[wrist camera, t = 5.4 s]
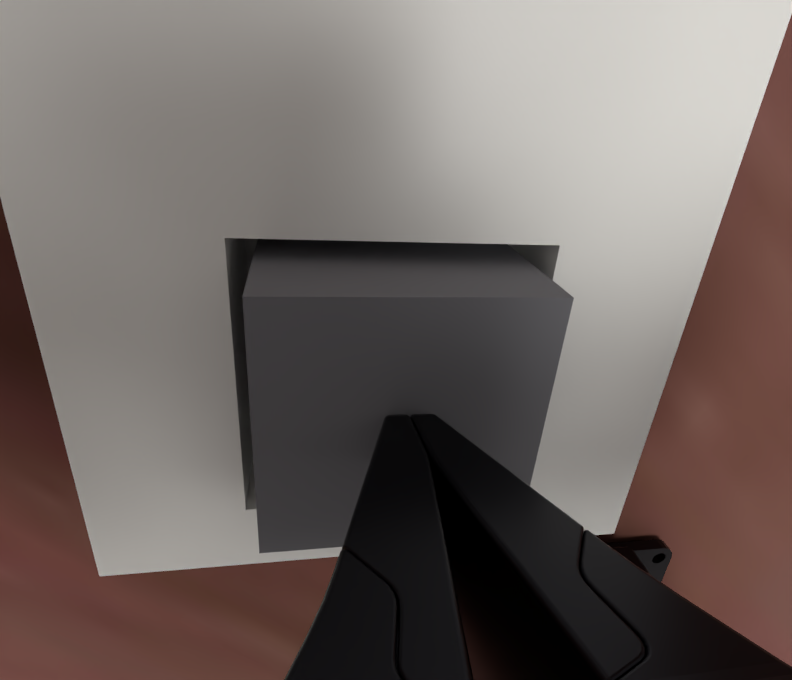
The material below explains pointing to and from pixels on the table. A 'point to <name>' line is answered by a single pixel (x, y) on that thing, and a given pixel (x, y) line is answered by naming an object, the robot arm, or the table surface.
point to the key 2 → (387, 365)
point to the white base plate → (353, 212)
